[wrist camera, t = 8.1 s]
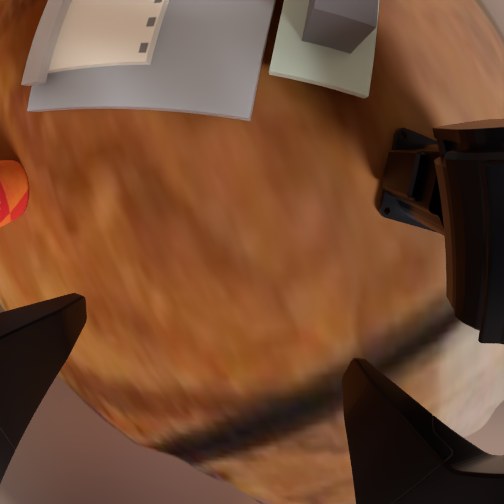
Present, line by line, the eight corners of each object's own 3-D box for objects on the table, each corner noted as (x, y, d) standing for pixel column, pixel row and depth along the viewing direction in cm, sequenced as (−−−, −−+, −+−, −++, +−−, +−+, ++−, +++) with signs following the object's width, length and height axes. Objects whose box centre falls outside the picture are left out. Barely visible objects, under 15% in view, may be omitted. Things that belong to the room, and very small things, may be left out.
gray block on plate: (376, -16, 12) (404, -51, 7) (364, 98, 15) (400, 81, 10) (293, -39, 12) (300, -82, 7) (268, 74, 15) (271, 44, 10)
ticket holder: (288, -52, 12) (291, -75, 9) (250, 121, 17) (248, 114, 14) (88, -39, 12) (72, -53, 9) (38, 111, 17) (12, 110, 14)
